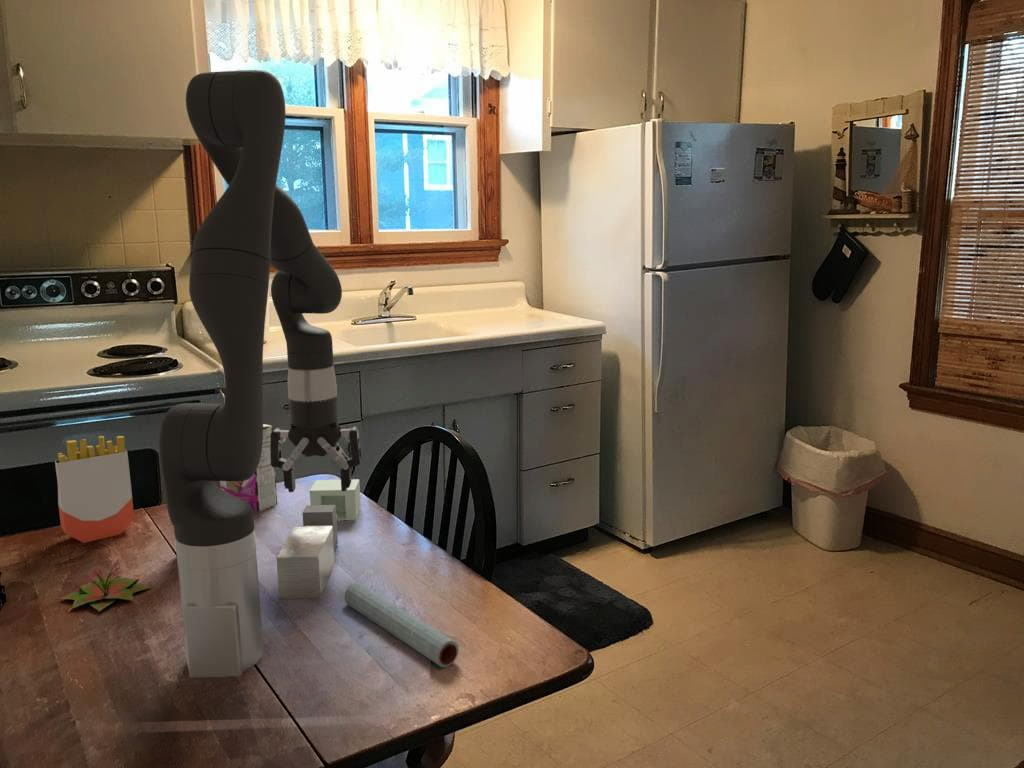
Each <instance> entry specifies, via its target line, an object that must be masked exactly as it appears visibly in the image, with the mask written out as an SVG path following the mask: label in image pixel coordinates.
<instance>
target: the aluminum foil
mask: <svg viewBox="0 0 1024 768" xmlns="http://www.w3.org/2000/svg"><path fill="white" fill-rule="evenodd" d="M343 594H344V595H343V599H344V602H345V604H346V605H347V606H349V607H350V608H352V609H353V610H355V611H356V612H358V613H360V614H361V615H363V616H364V617H365V618H366V619H369V620H370V621H372V622H373V623H375V624H376V625H377V626H379V627H380V628H382V629H384V630H385V631H387V632H388V633H390V634H391V635H393V637H396V638H397V639H399V640H400V641H401V642H402V643H404V644H406V645H408V646H409V647H411V648H412V649H413V650H415V651H417V652H418V653H420V654H421V655H422V656H424V657H426V659H429V660H430V664H432V665H433V666H434V668H436V669H437V670H438V671H441V670H443V669H444V668H447V667H450V666H451V665H453V663H454V662H455V661H456V660H457V658H458V655H459V650H460V649H459V648H460V647H459V645H458V643H457V642H456V641H455V640H453V639H451V638H450V637H449V636H447V635H445V634H443V633H442V632H440V631H438V630H437V629H435V628H434V627H432V626H431V625H429V624H427V623H425V622H424V621H422V620H421V619H419V618H417V617H416V616H415V615H413V614H410V612H408V611H406V610H405V609H403V608H402V607H399V606H398V605H396V604H395V603H393V602H391V601H390V600H388V599H386V598H385V597H383V596H382V595H380V594H378V593H377V592H375V591H374V590H372V589H370V588H369V587H367V586H366V585H364V584H362V583H360V582H353V583H352V584H350V585H349V586H348V587H347V588H346V590H345V592H344V593H343Z"/></svg>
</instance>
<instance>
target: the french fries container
mask: <svg viewBox="0 0 1024 768" xmlns="http://www.w3.org/2000/svg"><path fill="white" fill-rule="evenodd" d="M115 440H116V445H114V444H113V440H108V441H106V447H105V436H104V435H99V436H98V445H96V446H95V447H96V452H95V447H94V446H93V445H87V439H84V438H83V439H82V438H81V439H80V441H79V442H80V445H79V447H77V445H78V444H77V441H76V440H75V439H73V440H66V449H67V450H66V452H67V456H66V455H65V454H63V453H62V452H59V453H57V457H58V462H57V461H56V460H54V464H55V473H56V480H57V481H56V482H57V500H58V501H57V504H58V512H59V513H58V514H59V520H60V522H59V523H60V527H61V529H62V530H63V532H64V534H66V535H67V536H69V537H71V538H73V539H75V540H77V541H79V542H81V543H83V544H85V543H88V542H93V541H98V540H100V539H101V540H102V539H106V538H109V537H114V536H115V537H116V536H120V535H122V534H123V533H124V531H125V530H126V529H127V528H128V527H129V526H130V525H131V524H132V523H133V521H134V520H135V514H134V512H135V511H134V504H133V503H134V501H133V494H132V493H133V492H132V482H131V475H130V463H129V456H128V450H127V449H126V447H125V436H123V435H119V436H116V439H115Z"/></svg>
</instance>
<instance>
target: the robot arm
mask: <svg viewBox="0 0 1024 768" xmlns="http://www.w3.org/2000/svg"><path fill="white" fill-rule="evenodd" d="M285 100H286V99H285V95H284V91H283V87H282V85H281V82H280V80H279V79H278V78H277V77H276V75H274V74H273V73H272V72H270V71H267V70H262V69H249V70H248V69H247V70H246V69H245V70H244V69H243V70H225V71H223V70H222V71H208V72H201V73H198V74H196V75H194V76H192V78H191V79H190V81H189V82H188V84H187V87H186V93H185V105H186V112H187V116H188V120H189V122H190V125H191V126H192V130H193V132H194V134H195V136H196V137H197V139H198V141H199V142H200V144H201V146H202V148H203V149H204V151H205V153H206V154H207V155H208V157H209V158H210V160H211V161H212V163H213V164H214V165H215V167H216V169H217V171H218V172H219V174H220V176H221V177H222V178H223V180H224V181H225V183H226V184H227V188H226V189H225V191H224V192H223V194H221V197H220V198H219V199H218V200H217V201H216V203H215V205H214V206H213V207H212V208H211V209H210V211H209V212H208V214H207V215H206V217H205V219H203V221H202V223H201V225H200V226H199V228H198V230H197V232H196V234H195V236H194V239H193V242H192V247H191V258H190V259H191V260H190V270H189V280H188V281H189V282H188V283H189V285H188V286H189V287H188V290H189V291H188V292H189V296H190V300H191V304H192V306H193V308H194V310H195V313H196V314H197V316H198V318H199V320H200V322H201V324H202V326H203V328H204V329H205V331H206V332H207V334H208V336H209V337H210V340H211V341H212V343H213V345H214V347H215V349H216V350H217V353H218V356H219V358H220V361H221V363H222V364H221V365H222V368H223V369H222V370H223V375H224V383H225V385H224V387H225V388H224V389H225V395H224V396H225V397H224V403H200V402H199V403H198V402H197V403H194V402H191V403H190V402H188V403H187V402H186V403H179V404H175V405H173V406H172V407H170V408H169V409H168V411H167V412H166V413H165V415H164V417H163V419H162V422H161V425H160V428H159V435H158V436H159V438H158V448H159V449H158V450H159V459H160V466H161V467H160V468H161V473H162V479H163V485H164V494H165V498H166V500H165V501H166V506H167V512H168V517H169V519H170V522H171V524H172V526H173V530H174V542H175V541H176V547H175V550H176V559H177V560H176V561H177V563H176V564H177V573H178V583H179V584H178V585H179V592H180V593H179V595H180V607H181V614H182V615H181V617H182V625H183V626H182V627H183V636H184V647H185V656H186V657H185V658H186V666H187V669H188V677H189V678H219V677H220V678H222V677H223V678H224V677H227V678H228V677H229V678H230V677H240V676H242V674H243V673H244V672H245V671H247V670H248V669H250V668H251V667H254V666H255V665H256V664H257V663H258V662H259V661H260V660H261V659H262V658H263V655H264V651H265V649H264V638H263V625H262V624H263V623H262V614H261V611H262V610H261V600H260V599H261V597H260V596H261V595H260V585H259V584H260V583H259V571H258V558H257V557H258V556H257V542H256V529H255V527H256V525H255V514H254V510H253V509H252V507H251V506H250V505H249V504H248V503H247V502H245V501H244V500H242V499H239V498H237V497H234V496H232V495H230V494H228V493H226V492H225V491H223V490H222V489H220V488H219V485H217V484H216V483H215V482H219V481H245V480H248V479H250V478H251V477H252V476H253V475H254V473H255V472H256V470H257V467H258V465H259V462H260V457H261V452H262V443H263V424H264V395H263V394H264V389H263V387H264V386H263V385H264V384H263V382H264V381H263V376H264V375H263V374H264V373H263V371H264V370H263V369H264V366H263V363H264V360H263V359H264V343H265V341H264V339H265V324H266V314H267V305H268V296H269V288H270V294H271V299H272V300H271V301H272V303H273V307H274V309H275V311H276V315H277V317H278V320H279V323H280V326H281V329H282V331H283V334H284V339H285V342H286V353H287V370H288V372H287V392H288V393H287V397H288V408H289V409H288V410H289V423H290V427H289V430H288V429H282V428H280V427H275V428H274V429H272V433H271V435H270V438H271V466H272V467H275V468H279V469H281V470H282V472H283V485H284V488H285V489H286V490H288V493H294V492H295V490H296V487H297V486H296V471H295V466H293V465H294V463H295V462H296V461H297V460H298V458H299V457H300V455H301V454H302V455H303V456H305V457H313V456H316V457H317V456H318V457H325V456H327V455H329V456H330V458H331V459H332V460H333V461H335V462H336V463H337V464H338V465H339V466H340V470H339V471H340V473H339V474H340V480H341V490H342V491H346V490H347V488H349V487H350V484H351V479H352V467H357V466H359V465H360V463H361V461H362V460H363V455H362V445H361V439H360V430H359V429H360V428H359V427H357V426H355V425H353V426H352V427H351V428H341V426H340V422H339V409H338V385H337V377H336V373H335V366H334V352H333V351H334V350H333V347H334V346H333V337H332V334H331V332H330V331H329V330H327V329H325V328H323V327H317V326H314V325H313V324H310V323H309V322H308V321H307V320H306V319H305V317H304V315H303V314H315V315H316V314H318V315H319V314H330V313H332V312H334V311H335V310H336V309H337V308H338V307H339V306H340V304H341V300H342V297H343V296H342V295H343V291H342V284H341V280H340V279H339V278H340V277H339V276H338V274H337V272H336V270H335V269H334V268H333V266H332V265H331V263H329V261H328V260H327V259H326V257H325V256H324V254H322V252H321V251H320V250H319V248H318V247H317V246H316V245H315V244H314V242H313V239H312V236H311V233H310V231H309V228H308V225H307V222H306V221H305V220H306V219H305V218H304V215H303V212H302V210H301V209H300V208H299V206H298V205H297V203H296V202H295V201H294V200H293V199H292V197H291V196H290V195H289V194H288V193H287V192H286V191H285V190H284V189H283V188H281V186H280V185H278V184H277V182H278V173H279V167H280V162H281V156H282V149H283V144H284V137H285V127H286V112H287V111H286V101H285ZM271 266H272V267H273V269H276V270H277V272H276V273H275V274H274V276H273V278H272V281H271V285H270V273H271V271H270V270H271ZM269 286H270V287H269ZM342 437H343V438H344V440H345V442H346V443H349V445H350V453H351V457H349V456H348V455H347V454H346V453H345V452H344V449H343V448H342V447H341V445H339V443H338V442H339V441H340V439H341V438H342ZM286 439H288V440H289V441H290V442H291V443H292V444H293V445H294V447H295V448H294V449H293V451H292V452H291V454H290V455H289V456H288V457H287V458H283V455H282V444H283V443H285V442H286Z"/></svg>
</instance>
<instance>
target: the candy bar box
mask: <svg viewBox="0 0 1024 768" xmlns="http://www.w3.org/2000/svg"><path fill="white" fill-rule="evenodd" d="M272 432H273V425H270V424H265V423H263V443H262V452H261V457H260V462H259V465H258V467H257V470H256V472H255V473H254V475H253V476H252V477H251V478H250V479H248V480H245V481H218V484H219V485H218V487H219V488H220V489H222V490H223V491H225V492H226V493H228V494H230V495H232V496H234V497H237V498H239V499H242V500H244V501H245V502H247V503H248V504H249V505H250V506H251V507H252V509H253V512H254V511H255V512H262V511H264V510H267V509H269V508H271V506H272V507H274V506H276V504H277V505H278V493H277V490H278V489H277V480H276V478H277V477H276V467H272V466H271V438H270V435H271V433H272ZM266 508H267V509H266Z"/></svg>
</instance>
